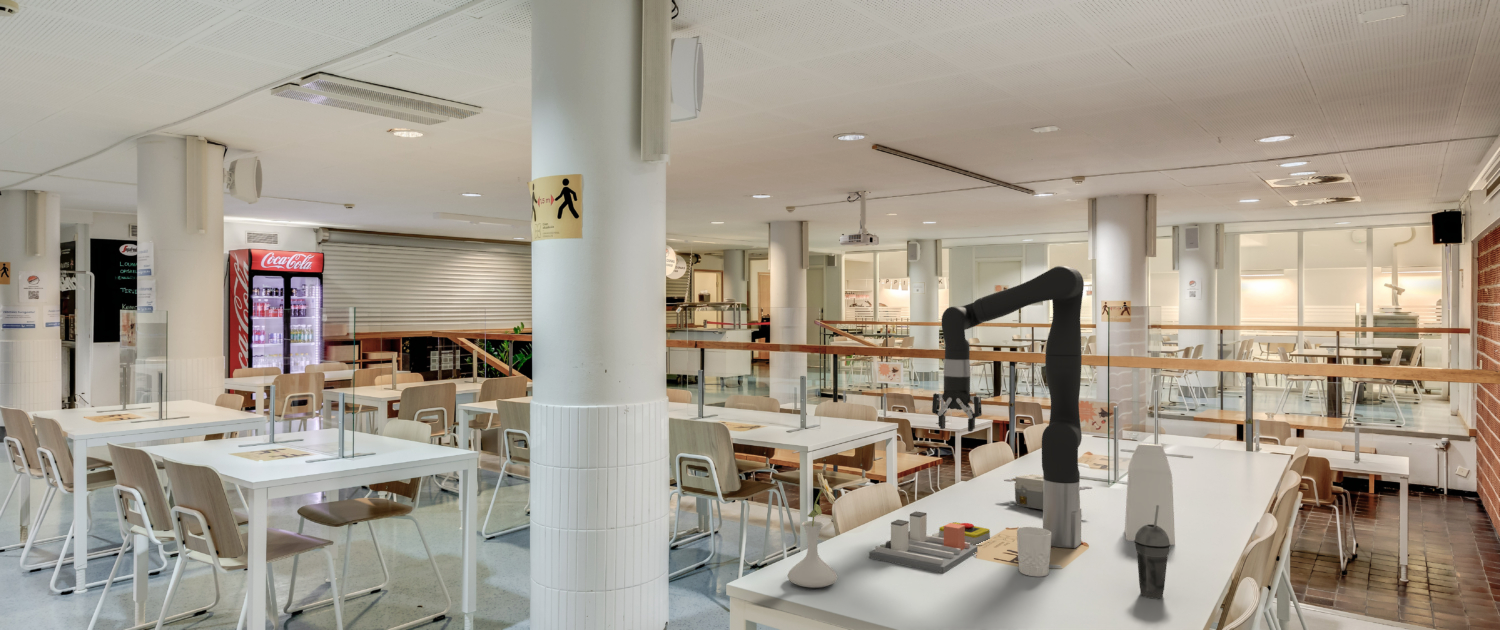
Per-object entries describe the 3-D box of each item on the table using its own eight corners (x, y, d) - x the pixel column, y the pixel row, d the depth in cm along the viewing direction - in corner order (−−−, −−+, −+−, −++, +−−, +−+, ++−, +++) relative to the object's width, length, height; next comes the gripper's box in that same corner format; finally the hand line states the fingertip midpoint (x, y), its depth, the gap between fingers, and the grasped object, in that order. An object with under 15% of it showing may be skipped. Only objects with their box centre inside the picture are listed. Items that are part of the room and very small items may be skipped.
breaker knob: (908, 550, 211) (908, 521, 211) (901, 553, 208) (901, 524, 208) (897, 548, 213) (898, 519, 213) (890, 551, 210) (890, 522, 210)
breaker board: (977, 552, 216) (977, 537, 216) (943, 573, 198) (943, 557, 198) (906, 539, 228) (907, 524, 228) (869, 557, 210) (869, 542, 210)
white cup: (1050, 569, 202) (1051, 528, 202) (1051, 579, 194) (1051, 536, 194) (1016, 566, 204) (1017, 525, 204) (1016, 575, 197) (1016, 533, 197)
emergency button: (980, 532, 221) (930, 522, 231) (980, 548, 221) (930, 537, 231) (996, 525, 228) (947, 516, 238) (996, 541, 228) (947, 531, 238)
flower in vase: (823, 595, 182) (824, 482, 182) (778, 586, 188) (779, 476, 188) (848, 579, 193) (849, 472, 193) (805, 571, 199) (806, 467, 199)
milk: (1126, 540, 229) (1127, 446, 229) (1124, 530, 240) (1125, 440, 239) (1175, 545, 224) (1176, 449, 224) (1171, 534, 235) (1172, 443, 235)
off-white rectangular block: (926, 540, 220) (926, 513, 220) (919, 544, 217) (920, 515, 217) (915, 538, 222) (916, 511, 222) (909, 542, 219) (909, 514, 218)
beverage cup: (1127, 589, 187) (1128, 501, 187) (1157, 589, 188) (1158, 501, 188) (1145, 601, 180) (1146, 509, 180) (1176, 600, 181) (1178, 509, 181)
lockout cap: (958, 552, 211) (958, 528, 211) (943, 549, 213) (943, 525, 213) (964, 548, 214) (964, 525, 214) (950, 545, 216) (950, 522, 216)
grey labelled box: (1073, 519, 250) (1072, 485, 250) (1000, 505, 274) (998, 475, 274) (1098, 514, 256) (1096, 481, 256) (1024, 501, 280) (1023, 472, 280)
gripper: (985, 375, 241) (984, 430, 241) (939, 372, 249) (938, 426, 250) (975, 376, 235) (975, 433, 235) (928, 374, 243) (928, 429, 243)
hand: (956, 429), depth 242 cm, fingers open, 8 cm apart
